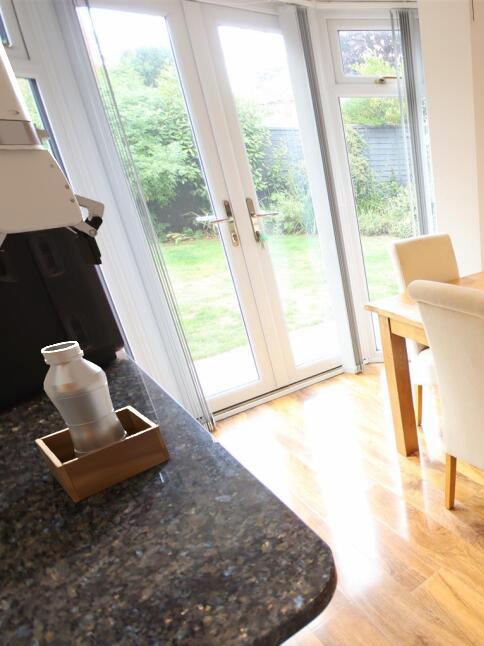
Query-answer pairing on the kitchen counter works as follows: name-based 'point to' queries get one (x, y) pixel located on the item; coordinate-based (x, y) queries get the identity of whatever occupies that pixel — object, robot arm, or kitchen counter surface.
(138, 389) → the kitchen counter surface
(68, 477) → the holder
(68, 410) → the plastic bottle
